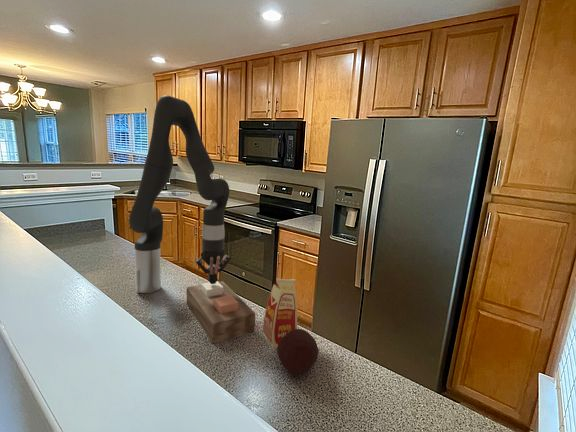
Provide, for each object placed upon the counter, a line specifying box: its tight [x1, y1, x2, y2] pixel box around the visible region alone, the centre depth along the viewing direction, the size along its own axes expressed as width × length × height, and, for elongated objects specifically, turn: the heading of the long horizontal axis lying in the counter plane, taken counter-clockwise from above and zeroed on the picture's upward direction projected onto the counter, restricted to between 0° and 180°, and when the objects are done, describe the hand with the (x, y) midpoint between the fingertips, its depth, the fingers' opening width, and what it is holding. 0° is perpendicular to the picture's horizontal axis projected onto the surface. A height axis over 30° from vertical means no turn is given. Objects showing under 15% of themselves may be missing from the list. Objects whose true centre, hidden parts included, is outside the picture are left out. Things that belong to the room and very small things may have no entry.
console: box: [186, 280, 257, 344], centre depth 108 cm, size 14×28×6 cm, turn 33°
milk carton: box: [262, 277, 298, 349], centre depth 97 cm, size 9×9×20 cm
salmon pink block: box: [214, 295, 238, 314], centre depth 102 cm, size 6×6×4 cm
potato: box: [276, 328, 319, 378], centre depth 84 cm, size 11×13×10 cm
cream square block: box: [200, 280, 223, 297], centre depth 112 cm, size 6×6×4 cm
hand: (212, 283), depth 112 cm, fingers closed
